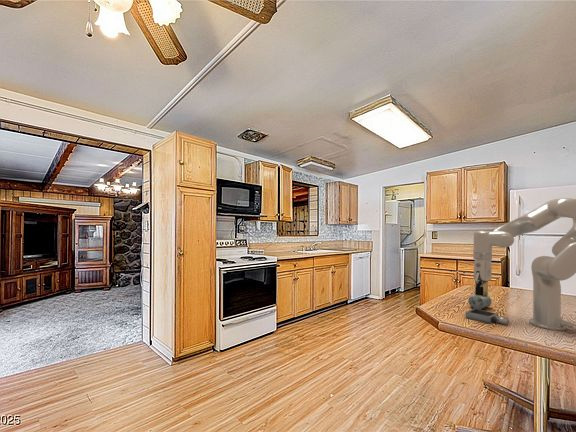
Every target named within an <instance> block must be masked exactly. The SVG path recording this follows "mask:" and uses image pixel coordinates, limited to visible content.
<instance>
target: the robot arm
mask: <svg viewBox="0 0 576 432" xmlns="http://www.w3.org/2000/svg"><path fill="white" fill-rule="evenodd" d="M561 218H570V219H572V227H571V228H570V229H569V230H568V231H567V232H566V233H565V234H564V235H563V236H562V237H561V238H560V239H558V240H557V241H556V242H555V243H554V244H553V246H552V248H551V253H552V254H553V255H554V256H548V255H541V256H538V257H536V258H534V259H533V260H532V262H531V264H530V265H531V267H530V268H531V275H532V282H533V284H532V291H533V292H532V318H529V319H528V323H529V325H530V324H531V325H532V326H535V327H538V328H541V329H542V328H543V329H546V330H553V331H564V330H566V327H568V328H572V329H575V323H574V322H571V321H565V319H564V318H563V317H562V315H561V314H562V313H561V312H562V308H561V307H562V301H561V300H562V286H561V281H566V280H568V279H570V278H572V277H573V276H574V275H576V198H569V197H562V198H561V197H560V198H556V199H555V198H554V199H551V200H549V201H547V202H545V203H543V204H541V205H540V206H538V207H536V208H534V209H532V210H530V211H529V212H527V213H525V214H524V215H522V216H518V217H517V218H515V219H514V220H511V221H509V222H506V223H505V224H502V225H501V226H499V227H497V228H495V229H494V230H492V231H488V230H487V231H485V230H475V231H474V232H473V255H472V257H473V260H474V263H473V279H474V286H475V287H474V294H476V295H481V296H483V281H488V282H489V281H491V280H492V278H493V276H492V275H493V274H492V273H493V272H492V271H493V269H492V260H493V247H498V248H509V247H511V246H512V245H514V242H515V238H517V236H520V235H523V234H528V233H533V232H536V231H538V230H541V229H543V228H544V227H546V226H548V225H549V224H551V223H553V222H555V221H557V220H560V219H561ZM479 279H482V280H479ZM479 281H480V282H481V283H480V282H479Z"/></svg>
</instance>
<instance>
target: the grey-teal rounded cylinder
mask: <svg viewBox="0 0 576 432" xmlns="http://www.w3.org/2000/svg"><path fill="white" fill-rule="evenodd" d="M467 301H468V304H469V306H471V308H472V309H474V308H475V309H479V310H483V309H485V308H488V307H491V305H492V299H491V296H489V294H488V297H480V296H476V295H475V293H474V294H471V295H470V296H468V300H467Z"/></svg>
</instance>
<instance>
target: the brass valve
mask: <svg viewBox="0 0 576 432" xmlns="http://www.w3.org/2000/svg"><path fill="white" fill-rule="evenodd" d="M479 280H482V279H479ZM479 282H480V281H479ZM480 283H481V282H480ZM474 294H475V293H474ZM475 295H476V294H475ZM488 295H489V280H488V281H483V296H481V295H476V296H480V297H488Z"/></svg>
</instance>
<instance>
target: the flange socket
mask: <svg viewBox="0 0 576 432" xmlns="http://www.w3.org/2000/svg"><path fill="white" fill-rule="evenodd" d="M465 319H468V320H472V321H477V322H481V323H483V324H484V323H485V324H488V325H491V324H493V323H497V324H501V325H504V326H509V324H510V319H509V317H506V316H500V315H499V313H497V312H492V311H487V310H483V309H480V310H479V309H475V308H471V309H469V310H467V311H465Z"/></svg>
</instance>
